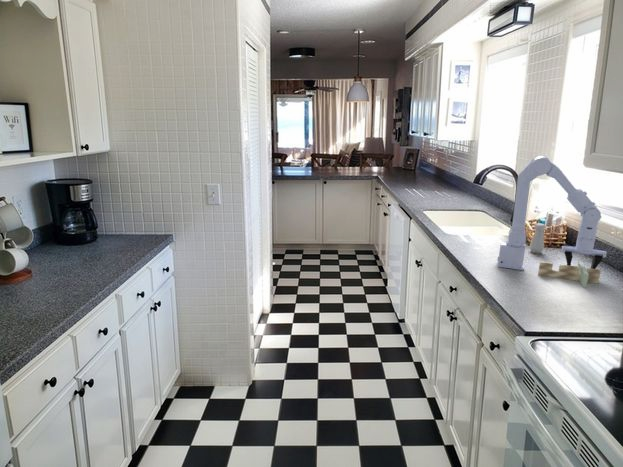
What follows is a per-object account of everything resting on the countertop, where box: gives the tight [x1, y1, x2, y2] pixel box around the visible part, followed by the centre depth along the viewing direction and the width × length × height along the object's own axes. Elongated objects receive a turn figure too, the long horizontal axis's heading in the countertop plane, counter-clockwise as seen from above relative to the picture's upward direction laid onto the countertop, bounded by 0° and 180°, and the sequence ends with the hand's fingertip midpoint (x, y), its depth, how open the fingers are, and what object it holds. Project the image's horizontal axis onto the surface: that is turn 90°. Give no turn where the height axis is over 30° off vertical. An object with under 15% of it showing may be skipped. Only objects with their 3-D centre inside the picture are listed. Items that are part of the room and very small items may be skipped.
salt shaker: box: [528, 222, 546, 255], centre depth 209 cm, size 6×6×13 cm
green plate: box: [577, 261, 589, 289], centre depth 175 cm, size 16×1×5 cm, turn 158°
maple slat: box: [537, 261, 602, 284], centre depth 176 cm, size 20×1×5 cm, turn 68°
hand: (579, 272), depth 180 cm, fingers open, 7 cm apart
